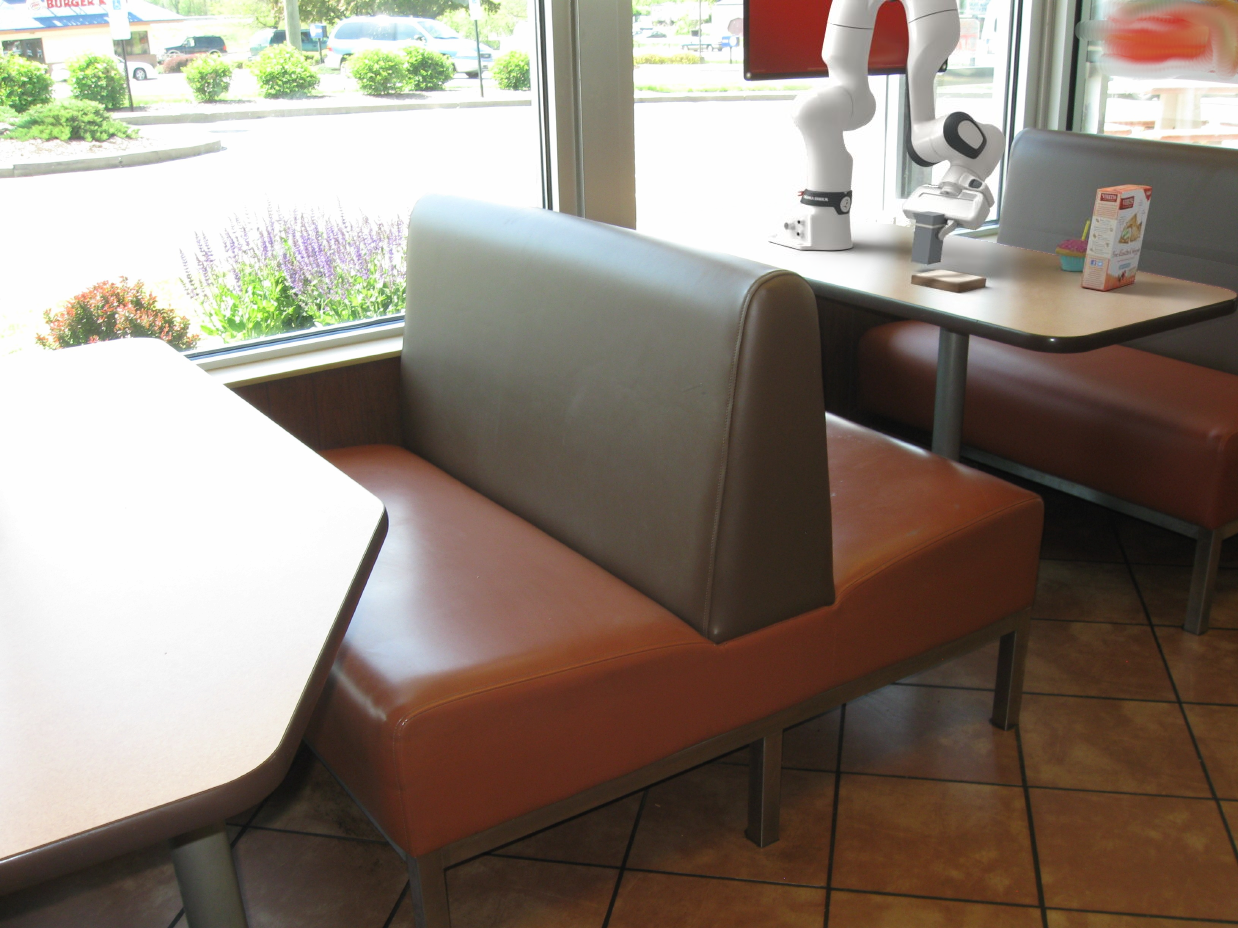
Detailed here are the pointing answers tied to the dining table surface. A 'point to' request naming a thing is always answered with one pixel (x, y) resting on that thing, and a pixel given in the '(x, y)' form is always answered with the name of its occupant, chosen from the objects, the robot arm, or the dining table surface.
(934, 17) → the robot arm
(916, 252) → the grey upright pillar block
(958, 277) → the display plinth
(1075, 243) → the cupcake
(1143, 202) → the cracker box
